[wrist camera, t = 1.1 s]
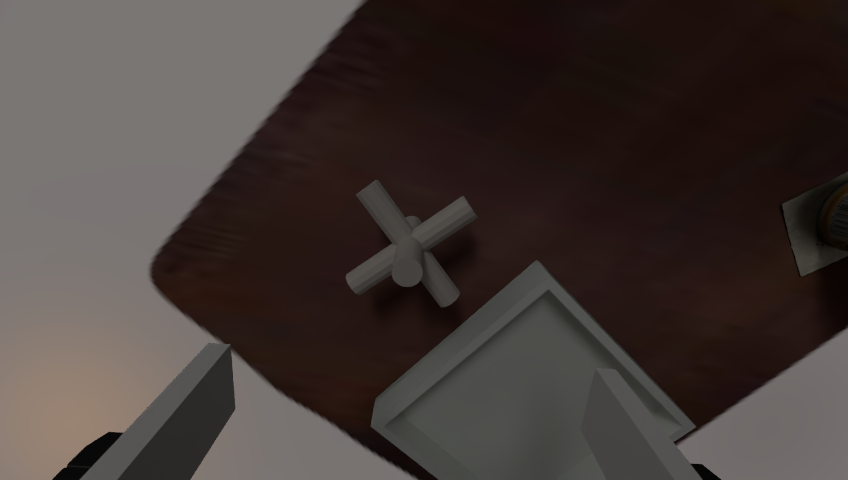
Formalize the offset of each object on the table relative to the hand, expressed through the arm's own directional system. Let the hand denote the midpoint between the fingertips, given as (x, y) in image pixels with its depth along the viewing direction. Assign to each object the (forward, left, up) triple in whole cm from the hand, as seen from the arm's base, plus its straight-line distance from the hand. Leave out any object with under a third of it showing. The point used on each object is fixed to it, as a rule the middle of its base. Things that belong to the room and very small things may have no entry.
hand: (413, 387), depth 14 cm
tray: (-11, +15, -19) cm, 27 cm away
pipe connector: (+1, -1, -19) cm, 19 cm away
